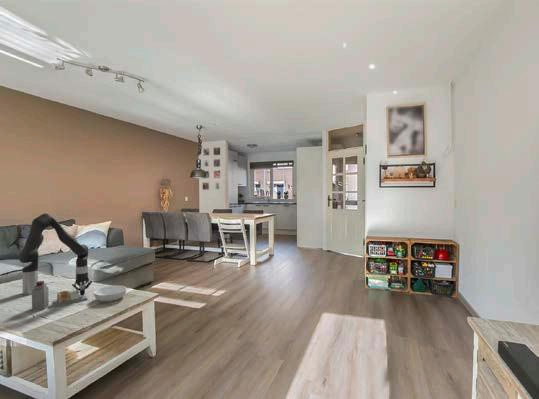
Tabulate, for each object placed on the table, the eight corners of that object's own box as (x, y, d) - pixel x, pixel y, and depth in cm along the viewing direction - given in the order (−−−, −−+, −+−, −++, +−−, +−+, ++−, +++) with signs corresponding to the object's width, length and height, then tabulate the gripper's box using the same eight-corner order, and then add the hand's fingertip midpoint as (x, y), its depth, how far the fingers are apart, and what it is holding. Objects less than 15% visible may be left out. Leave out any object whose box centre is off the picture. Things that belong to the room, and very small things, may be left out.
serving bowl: (112, 306, 191) (112, 296, 190) (86, 303, 195) (86, 293, 195) (132, 295, 211) (132, 286, 211) (109, 293, 215) (109, 284, 215)
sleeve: (57, 300, 196) (57, 292, 195) (67, 298, 200) (67, 290, 200) (59, 303, 192) (59, 294, 191) (69, 300, 196) (69, 292, 196)
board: (53, 302, 196) (52, 293, 196) (82, 295, 209) (82, 287, 209) (56, 307, 188) (56, 298, 188) (87, 299, 201) (87, 291, 201)
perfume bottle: (36, 307, 188) (36, 280, 187) (48, 305, 190) (48, 279, 190) (32, 311, 182) (31, 283, 181) (44, 309, 184) (44, 282, 183)
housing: (67, 297, 201) (67, 291, 201) (76, 295, 205) (76, 289, 205) (70, 300, 195) (70, 294, 195) (79, 298, 199) (79, 292, 199)
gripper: (72, 275, 196) (73, 299, 197) (93, 271, 206) (94, 293, 207) (69, 272, 201) (70, 296, 202) (90, 269, 211) (91, 291, 212)
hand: (82, 295), depth 204 cm, fingers closed
